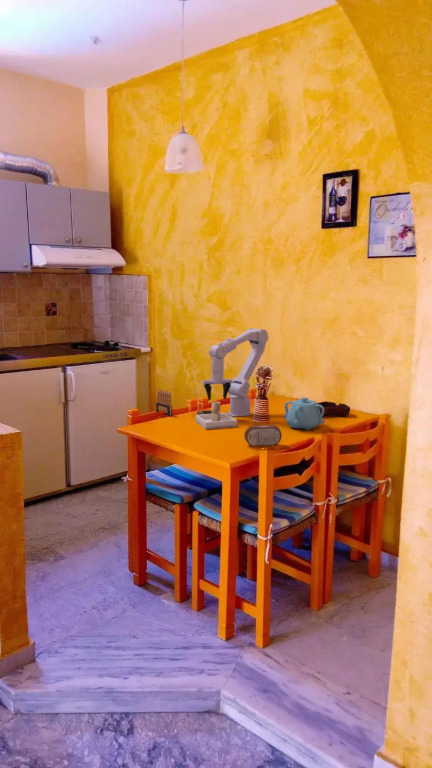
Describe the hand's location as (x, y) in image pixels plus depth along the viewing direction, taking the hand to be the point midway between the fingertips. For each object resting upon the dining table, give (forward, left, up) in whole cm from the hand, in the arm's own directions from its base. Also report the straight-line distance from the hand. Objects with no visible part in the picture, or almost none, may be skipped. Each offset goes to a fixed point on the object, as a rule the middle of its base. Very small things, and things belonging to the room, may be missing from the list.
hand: (217, 399), depth 278 cm
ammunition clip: (+22, -16, -10) cm, 29 cm away
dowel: (+4, +10, -8) cm, 13 cm away
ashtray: (-56, +8, -10) cm, 58 cm away
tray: (+4, +10, -9) cm, 14 cm away
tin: (-3, +48, -10) cm, 49 cm away
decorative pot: (-33, +26, -10) cm, 43 cm away
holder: (+3, -5, -9) cm, 11 cm away
